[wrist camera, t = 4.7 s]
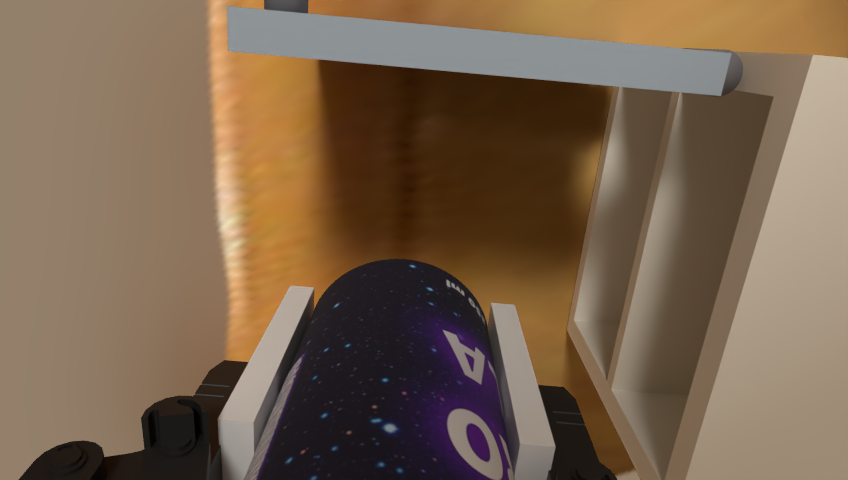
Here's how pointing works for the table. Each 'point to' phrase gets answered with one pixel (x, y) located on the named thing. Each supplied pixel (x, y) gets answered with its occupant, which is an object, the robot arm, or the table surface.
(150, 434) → the robot arm
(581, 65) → the door
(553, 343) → the table surface
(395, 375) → the beverage can
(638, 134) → the cabinet
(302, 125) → the table surface
